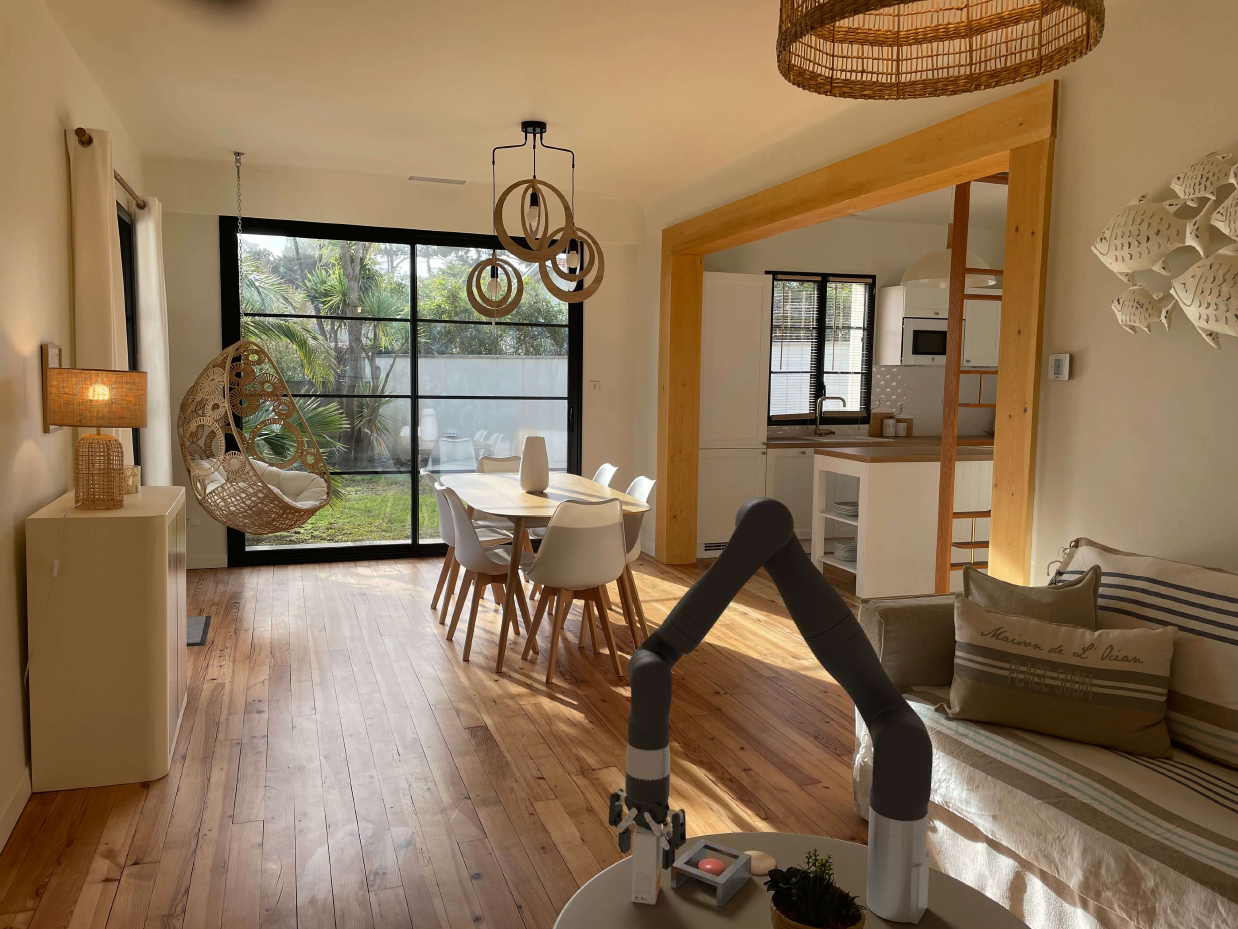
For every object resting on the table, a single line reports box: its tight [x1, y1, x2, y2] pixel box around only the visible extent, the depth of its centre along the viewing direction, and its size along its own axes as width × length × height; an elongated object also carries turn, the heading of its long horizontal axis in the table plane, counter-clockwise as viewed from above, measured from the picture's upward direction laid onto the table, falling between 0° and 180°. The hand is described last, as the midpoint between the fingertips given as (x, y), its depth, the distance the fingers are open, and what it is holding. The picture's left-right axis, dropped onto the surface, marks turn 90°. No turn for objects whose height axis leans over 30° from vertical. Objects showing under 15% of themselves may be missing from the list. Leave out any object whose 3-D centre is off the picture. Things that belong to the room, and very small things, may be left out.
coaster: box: [742, 850, 777, 876], centre depth 160 cm, size 7×7×1 cm
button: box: [696, 857, 727, 877], centre depth 154 cm, size 6×6×1 cm
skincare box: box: [630, 824, 663, 905], centre depth 149 cm, size 6×4×12 cm
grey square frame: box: [670, 838, 752, 907], centre depth 154 cm, size 10×11×4 cm
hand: (645, 859), depth 150 cm, fingers open, 8 cm apart
